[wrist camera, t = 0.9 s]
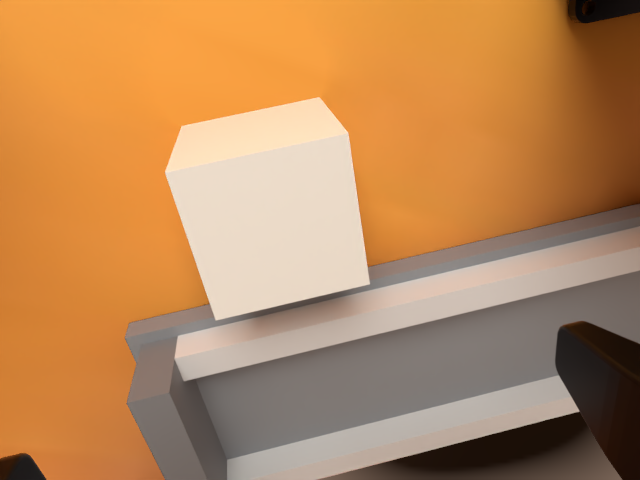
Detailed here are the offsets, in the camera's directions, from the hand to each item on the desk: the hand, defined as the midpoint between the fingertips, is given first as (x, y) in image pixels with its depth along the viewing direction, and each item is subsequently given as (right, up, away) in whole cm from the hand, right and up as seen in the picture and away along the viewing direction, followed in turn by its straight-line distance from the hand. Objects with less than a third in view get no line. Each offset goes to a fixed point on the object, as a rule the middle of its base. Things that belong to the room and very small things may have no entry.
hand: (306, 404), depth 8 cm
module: (-2, +5, +10) cm, 12 cm away
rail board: (+6, -2, +15) cm, 17 cm away
